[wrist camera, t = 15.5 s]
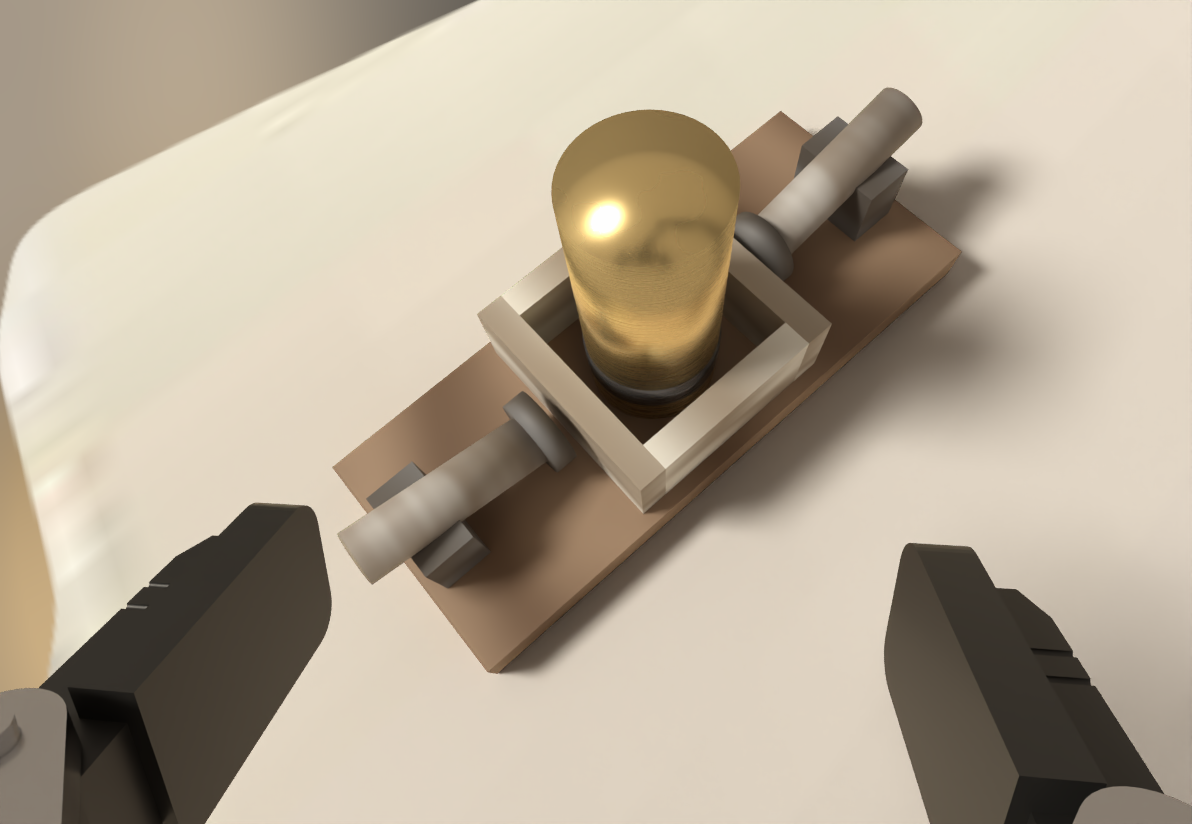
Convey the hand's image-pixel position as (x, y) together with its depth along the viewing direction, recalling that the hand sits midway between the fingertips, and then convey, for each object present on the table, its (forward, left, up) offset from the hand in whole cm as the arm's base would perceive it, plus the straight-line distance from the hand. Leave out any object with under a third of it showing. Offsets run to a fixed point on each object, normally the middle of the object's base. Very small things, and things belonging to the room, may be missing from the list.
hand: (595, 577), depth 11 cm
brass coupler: (-7, -7, -14) cm, 17 cm away
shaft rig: (-7, -7, -16) cm, 19 cm away
